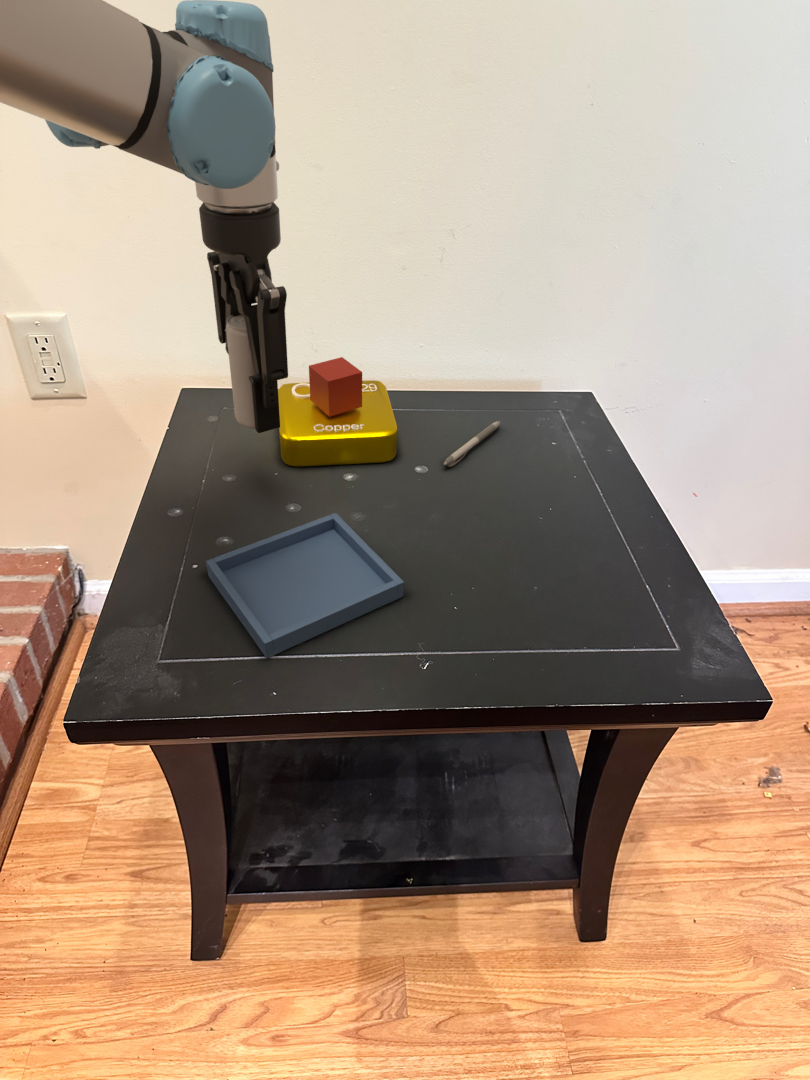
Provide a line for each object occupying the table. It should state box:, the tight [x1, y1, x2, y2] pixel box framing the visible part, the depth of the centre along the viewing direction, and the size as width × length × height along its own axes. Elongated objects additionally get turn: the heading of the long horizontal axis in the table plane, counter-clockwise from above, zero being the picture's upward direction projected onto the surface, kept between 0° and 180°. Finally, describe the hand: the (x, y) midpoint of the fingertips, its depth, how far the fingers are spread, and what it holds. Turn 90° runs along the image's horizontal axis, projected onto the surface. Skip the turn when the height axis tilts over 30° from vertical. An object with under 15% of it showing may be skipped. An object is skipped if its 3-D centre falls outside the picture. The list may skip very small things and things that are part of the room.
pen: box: [443, 420, 501, 468], centre depth 98 cm, size 1×14×1 cm, turn 144°
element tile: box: [278, 380, 398, 468], centre depth 98 cm, size 15×15×5 cm
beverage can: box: [225, 315, 256, 430], centre depth 80 cm, size 5×5×12 cm
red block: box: [308, 356, 363, 417], centre depth 94 cm, size 5×5×5 cm
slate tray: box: [205, 512, 405, 659], centre depth 75 cm, size 16×14×2 cm
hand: (257, 417), depth 84 cm, fingers closed on beverage can, 5 cm apart
